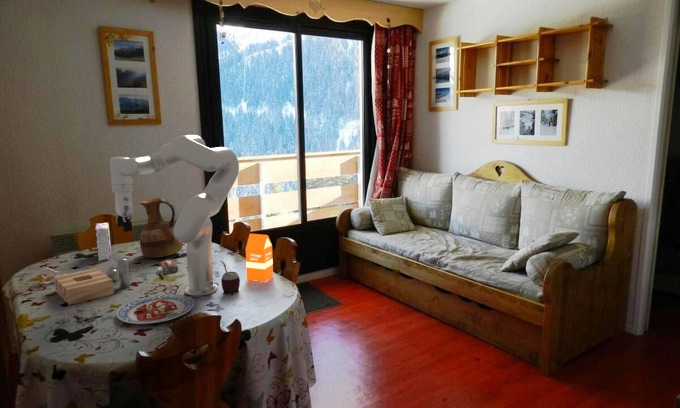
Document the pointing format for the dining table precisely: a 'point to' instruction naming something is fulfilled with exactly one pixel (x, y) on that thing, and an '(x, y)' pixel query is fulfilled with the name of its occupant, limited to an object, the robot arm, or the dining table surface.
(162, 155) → the robot arm
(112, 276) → the short pin
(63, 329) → the dining table surface
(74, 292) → the hole block
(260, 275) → the orange juice
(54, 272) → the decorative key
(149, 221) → the ceramic pitcher
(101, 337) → the dining table surface
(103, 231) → the candy box
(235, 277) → the mate gourd
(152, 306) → the ceramic plate
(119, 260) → the tall pin
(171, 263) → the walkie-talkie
